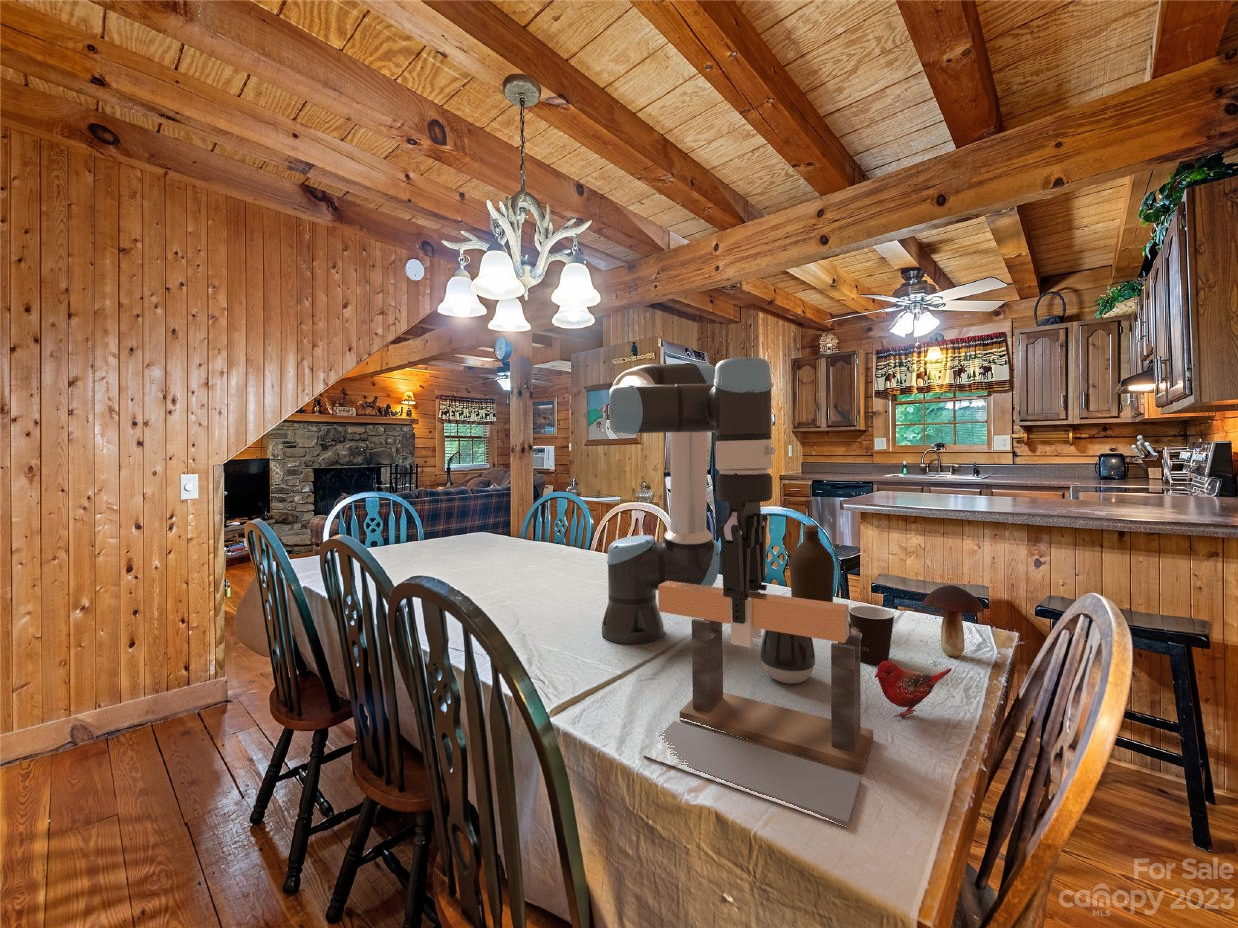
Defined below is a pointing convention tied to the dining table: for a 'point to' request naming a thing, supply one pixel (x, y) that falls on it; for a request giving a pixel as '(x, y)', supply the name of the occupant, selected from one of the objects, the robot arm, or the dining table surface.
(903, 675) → the decorative bird figurine
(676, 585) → the copper rail
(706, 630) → the rail stand
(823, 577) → the olive oil
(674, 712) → the dining table surface
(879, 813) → the dining table surface
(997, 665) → the dining table surface
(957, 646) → the decorative mushroom
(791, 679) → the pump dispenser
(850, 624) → the coffee mug
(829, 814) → the rubber mat
